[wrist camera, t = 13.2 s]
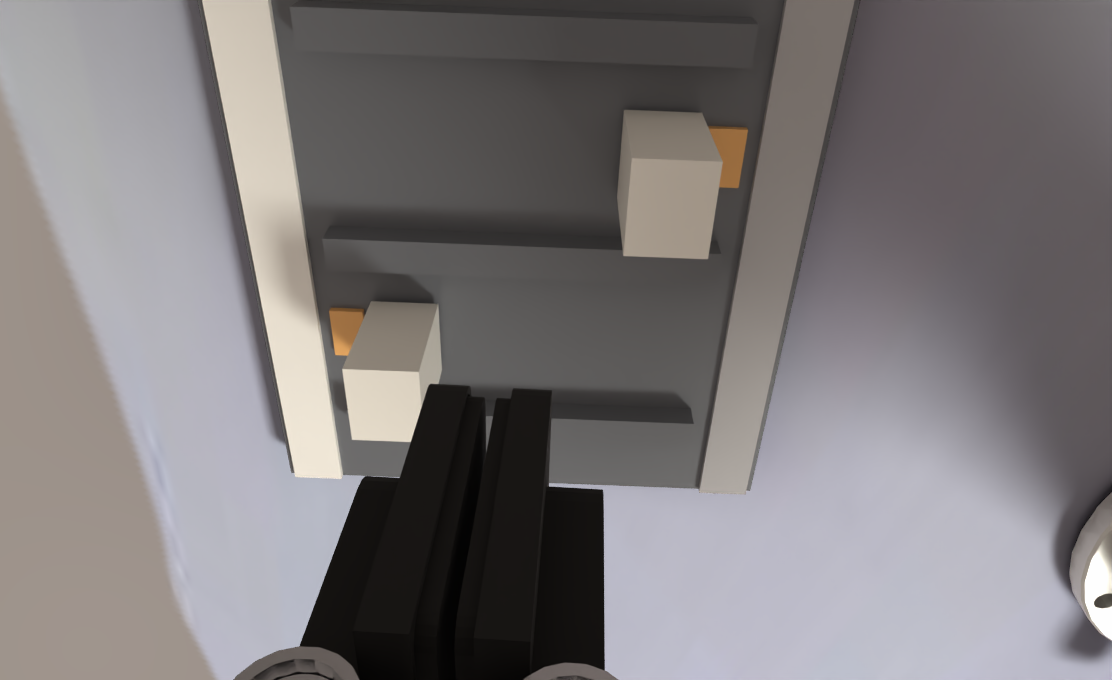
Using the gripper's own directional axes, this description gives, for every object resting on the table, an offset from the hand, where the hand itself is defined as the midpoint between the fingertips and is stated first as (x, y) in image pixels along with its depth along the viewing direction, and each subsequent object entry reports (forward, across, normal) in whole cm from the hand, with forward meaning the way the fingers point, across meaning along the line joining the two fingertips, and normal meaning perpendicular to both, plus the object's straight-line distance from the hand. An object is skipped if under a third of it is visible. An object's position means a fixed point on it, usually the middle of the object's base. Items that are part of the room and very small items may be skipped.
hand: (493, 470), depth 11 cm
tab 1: (+12, +4, +6) cm, 14 cm away
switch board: (+13, +1, 0) cm, 13 cm away
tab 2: (+12, -3, 0) cm, 13 cm away
